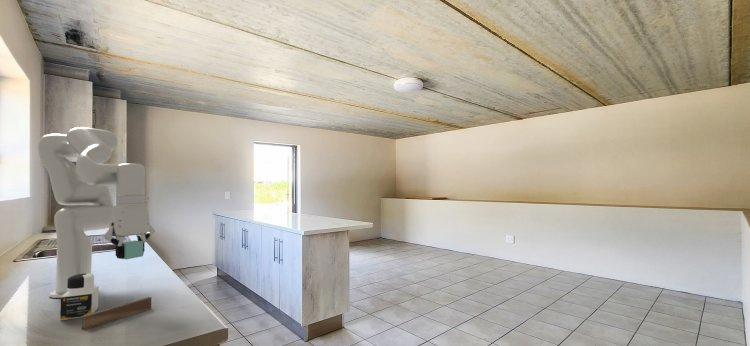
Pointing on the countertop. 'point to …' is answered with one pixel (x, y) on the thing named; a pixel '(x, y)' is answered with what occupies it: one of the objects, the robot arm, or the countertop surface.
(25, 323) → the countertop surface
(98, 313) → the walnut fence
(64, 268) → the robot arm
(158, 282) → the countertop surface
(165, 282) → the countertop surface
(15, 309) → the countertop surface
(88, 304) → the medicine bottle
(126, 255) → the teal block
